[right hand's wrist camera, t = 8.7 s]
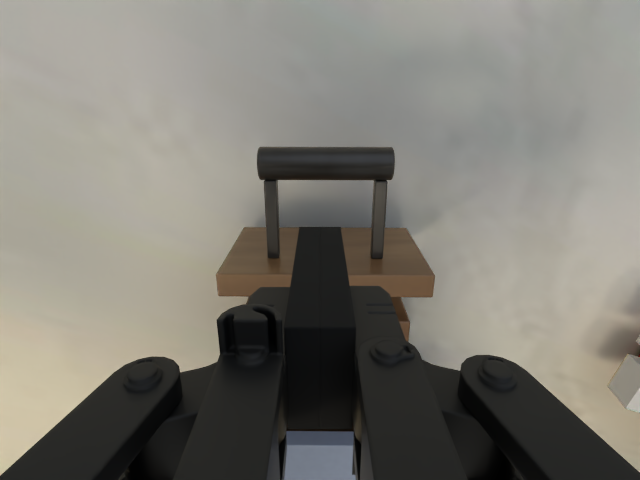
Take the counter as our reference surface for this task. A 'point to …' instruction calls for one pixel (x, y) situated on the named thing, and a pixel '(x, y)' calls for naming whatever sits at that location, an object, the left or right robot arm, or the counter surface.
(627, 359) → the toy
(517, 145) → the counter surface
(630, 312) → the counter surface
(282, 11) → the counter surface
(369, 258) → the drawer
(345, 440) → the cabinet
